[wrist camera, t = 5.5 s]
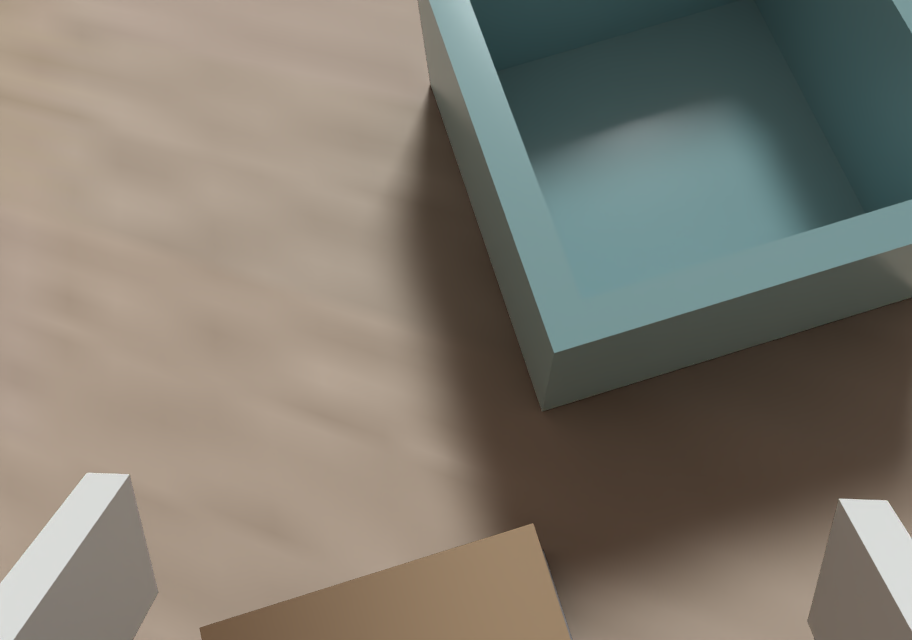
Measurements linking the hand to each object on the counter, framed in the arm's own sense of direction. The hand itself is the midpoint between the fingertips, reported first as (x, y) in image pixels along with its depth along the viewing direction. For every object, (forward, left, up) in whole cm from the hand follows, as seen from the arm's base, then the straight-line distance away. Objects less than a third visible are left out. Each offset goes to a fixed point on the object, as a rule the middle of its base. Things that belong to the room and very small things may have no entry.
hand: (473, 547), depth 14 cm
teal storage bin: (-7, -7, -4) cm, 11 cm away
